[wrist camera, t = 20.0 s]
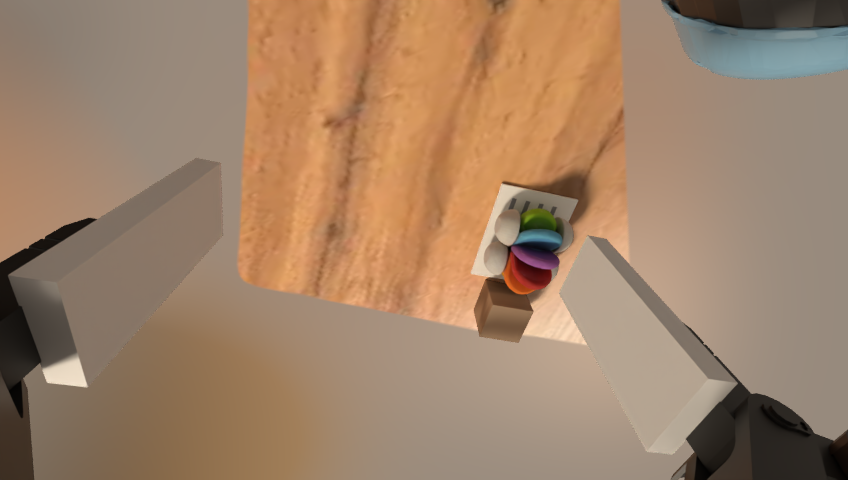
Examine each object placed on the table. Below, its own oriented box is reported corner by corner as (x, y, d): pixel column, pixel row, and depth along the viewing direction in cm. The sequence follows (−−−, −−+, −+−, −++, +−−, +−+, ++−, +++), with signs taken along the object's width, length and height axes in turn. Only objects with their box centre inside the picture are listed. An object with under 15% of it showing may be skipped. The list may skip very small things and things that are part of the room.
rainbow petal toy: (475, 265, 46) (486, 304, 40) (501, 193, 42) (518, 223, 35) (540, 277, 47) (560, 316, 41) (572, 208, 43) (601, 240, 36)
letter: (501, 183, 41) (502, 184, 41) (577, 199, 43) (578, 200, 42) (470, 272, 47) (470, 274, 47) (538, 284, 48) (539, 285, 48)
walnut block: (485, 279, 48) (492, 304, 43) (522, 286, 49) (533, 311, 44) (473, 309, 50) (479, 336, 46) (509, 315, 51) (518, 342, 47)
